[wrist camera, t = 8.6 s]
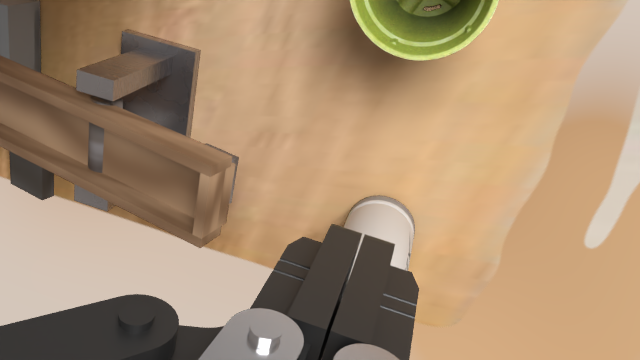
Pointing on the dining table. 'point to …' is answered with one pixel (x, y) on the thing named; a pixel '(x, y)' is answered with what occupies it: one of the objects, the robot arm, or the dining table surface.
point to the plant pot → (422, 25)
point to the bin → (21, 32)
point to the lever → (112, 155)
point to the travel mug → (384, 226)
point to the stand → (144, 87)
